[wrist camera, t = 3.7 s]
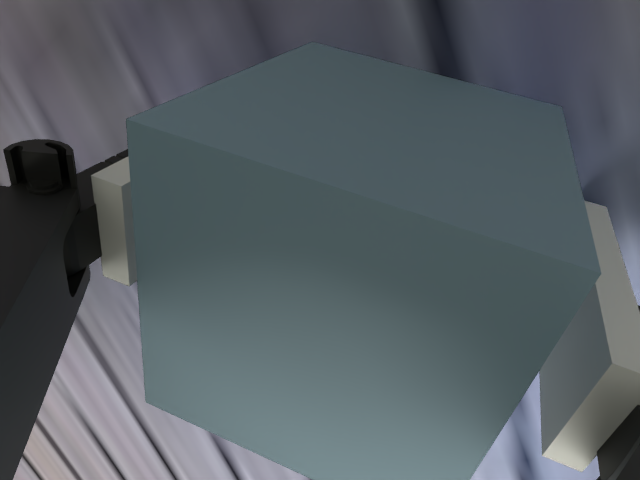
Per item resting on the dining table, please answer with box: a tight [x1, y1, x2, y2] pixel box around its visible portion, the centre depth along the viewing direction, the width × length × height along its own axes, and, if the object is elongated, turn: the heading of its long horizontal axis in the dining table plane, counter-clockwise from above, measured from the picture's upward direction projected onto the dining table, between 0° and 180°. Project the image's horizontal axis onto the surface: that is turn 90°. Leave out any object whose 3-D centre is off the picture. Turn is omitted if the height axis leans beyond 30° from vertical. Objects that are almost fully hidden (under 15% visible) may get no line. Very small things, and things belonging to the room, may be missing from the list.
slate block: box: [126, 42, 601, 480], centre depth 12 cm, size 7×7×8 cm
